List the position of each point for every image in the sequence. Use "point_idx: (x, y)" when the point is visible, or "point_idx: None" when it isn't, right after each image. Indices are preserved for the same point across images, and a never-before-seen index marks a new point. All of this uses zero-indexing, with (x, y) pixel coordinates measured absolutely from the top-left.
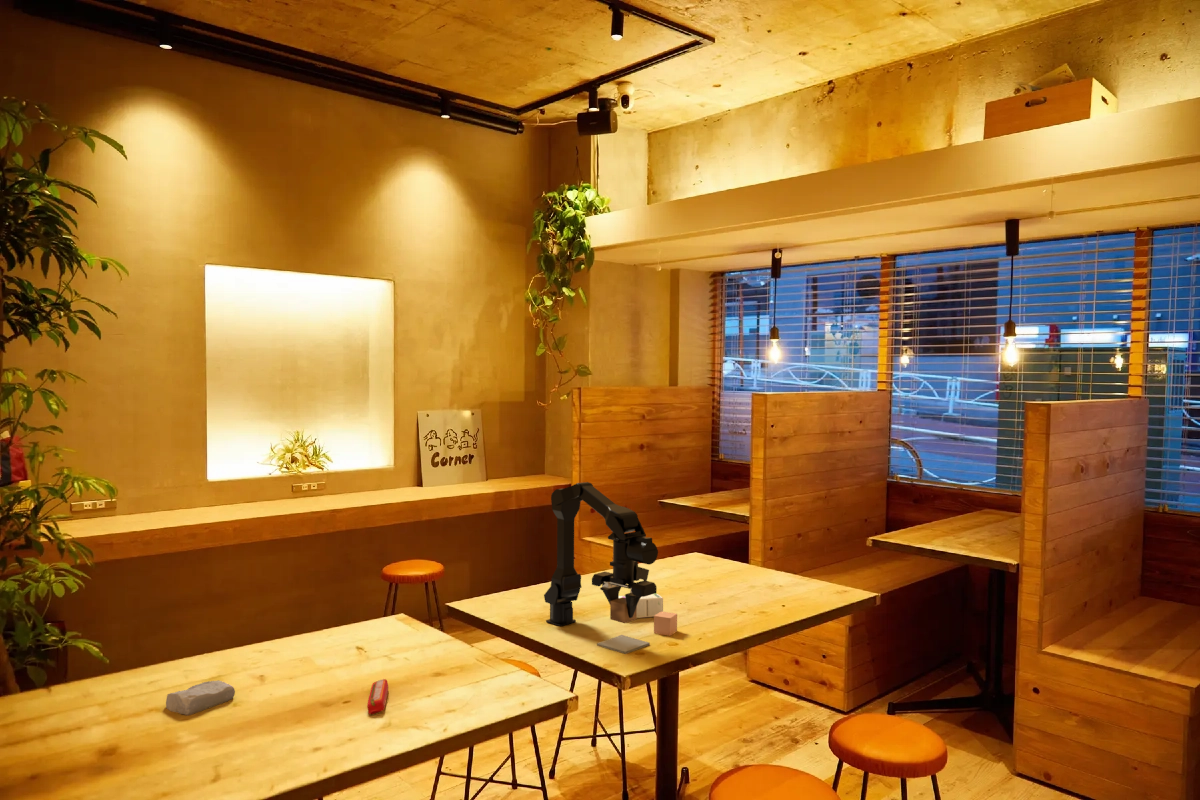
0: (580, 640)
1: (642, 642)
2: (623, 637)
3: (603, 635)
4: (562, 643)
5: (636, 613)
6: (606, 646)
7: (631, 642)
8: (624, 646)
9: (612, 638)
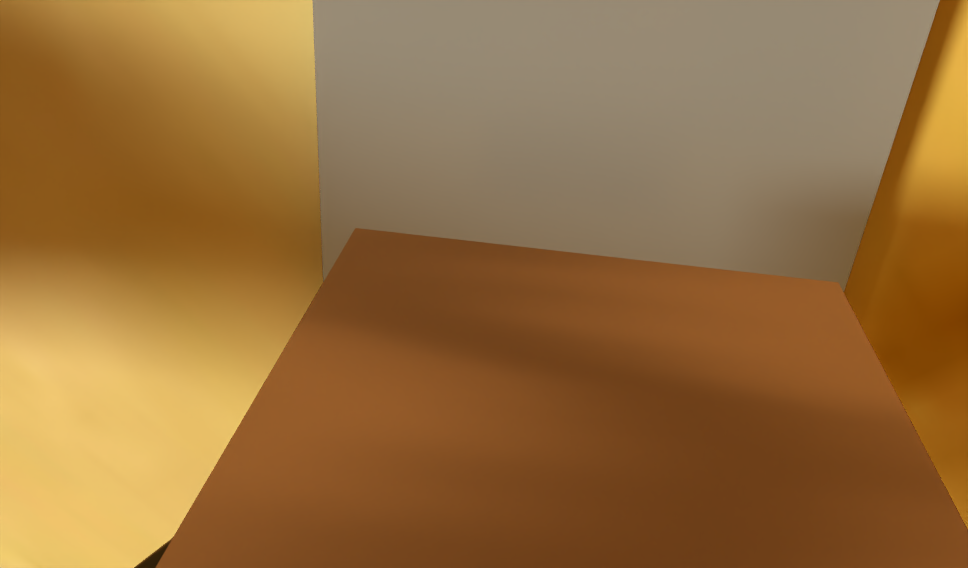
0: (73, 349)
1: (828, 28)
2: (425, 11)
3: (82, 25)
4: (45, 501)
5: (882, 373)
6: None
7: (669, 134)
8: None
9: (335, 154)
